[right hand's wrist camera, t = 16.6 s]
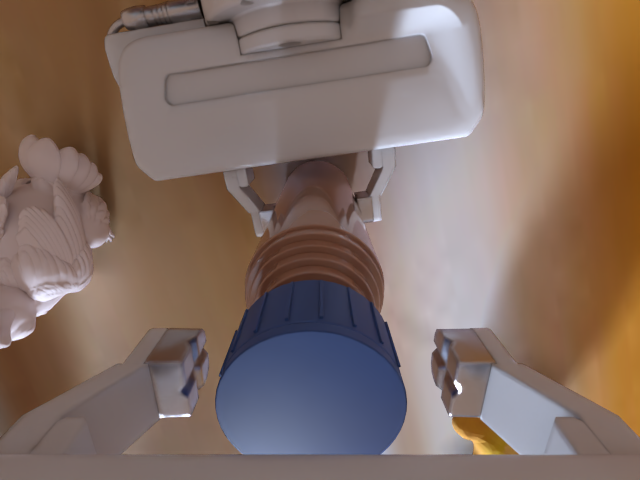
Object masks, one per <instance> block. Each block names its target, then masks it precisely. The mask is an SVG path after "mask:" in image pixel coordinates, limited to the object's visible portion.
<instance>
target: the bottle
mask: <svg viewBox="0 0 640 480" xmlns="http://www.w3.org/2000/svg"><path fill="white" fill-rule="evenodd" d="M303 280H323V281H328V282H333V283H337V284H340V285H343V286H346V287H350V288H351V289H353V290H354V291H356V292H358V293H359V294H361V295H362V296H364V297H365V298H366V299H367V300H368V301H370V302H371V301H372V302H373V304H374V307H375V308H376V309H377V310H378V312H379V313H380V312H381V309H382V305H383V299H384V277H383V272H382V269H381V266H380V263H379V261H378V258H377V255H376V253H375V250H374V247H373V245H372V242H371V240H370V237H369V234H368V232H367V229H366V226H365V224H364V221H363V218H362V216H361V213H360V211H359V208H358V205H357V203H356V200H355V197H354V195H353V192H352V189H351V187H350V184H349V182H348V179H347V177H346V176H345V174H344V173H343V172H342V171H341V170H340V169H339V168H338V167H337V166H335V165H333V164H331V163H329V162H326V161H318V160H316V161H309V162H306V163H303V164H302V165H300V166H298V167H297V168H296V169H295V170H294V171H293V172H292V173H291V174H290V176H289V177H288V179H287V181H286V184H285V186H284V188H283V190H282V193H281V195H280V197H279V199H278V201H277V204H276V206H275V208H274V210H273V213H272V215H271V217H270V219H269V221H268V224H267V226H266V228H265V230H264V233H263V235H262V237H261V239H260V242H259V244H258V246H257V248H256V250H255V253H254V255H253V257H252V259H251V262H250V264H249V266H248V269H247V273H246V279H245V300H246V305H247V309H249V308H250V307H251V306H252V305H253V304H254V303H255V302H256V301H257V300H258V299H259V298H260V297H262V296H263V295H264V293H265V292H269V291H271V290H273V289H275V288H277V287H279V286H282V285H285V284H288V283H290V282H297V281H303Z"/></svg>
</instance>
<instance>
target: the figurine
mask: <svg viewBox="0 0 640 480" xmlns="http://www.w3.org/2000/svg"><path fill="white" fill-rule="evenodd" d="M18 156H19V161H20V163H21V166H22V167H23V169H24V170H25V171H26V173H27V174H28V175H29V176H30V177H31V178H20V179H18V180H17V176H18V166H14V167H13V168H11V169H10V170H9V171H8V172H7V173H5V174H4V175H3V177H2V178H1V179H0V349H1V348H6V347H8V346H10V344H11V341H15V340H19V339H22V338H24V337H26V336H28V335H29V334H31V333H32V332H33V331H34V329H35V326H36V317H38V316H40V315H43V314H46V313H47V311H48V310H50V309H51V308H53V306H54V305H55V304H56V303H57V302H58V301H59V300H60V299H61V298H62V297H63V296H64V295H65V294H67V293H71V292H73V293H74V292H78V291H80V290H82V289H83V288H84V287H85V286H86V285H87V284H88V283H89V282H90V281H91V277H92V275H93V270H94V267H93V257H92V248H96V247H99V246H101V245H102V244H103V243H104V242H106V243H107V241H108V239H109V240H110V242H112V241H111V240H112V237H113V238H114V237H115V235H114V234H113V233H112V231H111V229H110V227H109V222H110V220H109V216H110V214H109V211H108V210H107V205H106V203H105V202H104V201H103V199H102V198H101V197H99V196H97V195H94V194H92V193H91V192H90V191H89V190H91V189H93V188H95V187H96V186H98V185H99V184H100V183H101V181H102V178H103V177H102V174H101V173H99V172H98V169H97V166H96V164H95V163H93V162H90V161H89V159H88V157H87V156H86V155H85V154H82V153H78V152H77V150H76V149H75V148H74V147H65V148H62V149H60V150H59V149H58V147H57V145H56V144H55V142H54V141H53V140H52V139H51V138H47V137H46V138H42V139H38V138H37V137H36V136H35V135H32V134H31V135H28V136H26V137H25V138H23V140H22V141H21V143H20V146H19V153H18ZM110 235H111V236H112V237H111V236H110Z"/></svg>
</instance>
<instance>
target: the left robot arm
mask: <svg viewBox="0 0 640 480" xmlns="http://www.w3.org/2000/svg"><path fill="white" fill-rule="evenodd" d="M159 25H160V26H159ZM161 25H162V26H161ZM123 27H126V29H127V30H130V31H126V32H120V33H118V32H119V30H120V29H122V28H123ZM105 51H106V54H107V57H108V60H109V64H110V67H111V70H112V73H113V76H114V78H115V80H116V82H117V83H118V85H119V86H120V93H121V100H122V106H123V112H124V118H125V123H126V128H127V132H128V137H129V141H130V145H131V149H132V153H133V156H134V159H135V162H136V164H137V166H138V167H139V168H140V169H141V170H142V171H143V172H144V173H145V174H147V175H148V176H149V177H150V178H152V179H153V180H155V181H161V180H168V179H175V178H182V177H189V176H196V175H203V174H210V173H217V172H223V174H224V178H225V183H226V187H227V190H228V191H229V192H230V193H231V194H232V195H233V197H234V198H235V199H236V200H237V201H238V202H239V203H240V204H241V205H242V206H243V207H244V208H245V210H246V211H247V212H248V213H251V216H252V220H253V225H254V229H255V234H256V236H257V237H262V235H263V233H264V230H265V228H266V226H267V224H268V221H269V219H270V217H271V215H272V213H273V210H274V208H275V206H276V204H277V203H274V204H265V205H264V202H263V201H262V200H261V199H260V198H259V196H258V195H257V194H256V193H255V191H254V190H253V189H252V188H251V187H250V185H249V184H250V183H251V182H252V181H253V180H254V173H253V167H259V166H266V165H273V164H280V163H286V162H293V161H300V160H307V159H314V158H321V157H328V156H335V155H342V154H349V153H356V152H363V151H368V160H369V163H370V164H371V165H372V166H373V167H374V168H375V170H374V173H373V175H372V177H371V180H370V182H369V184H368V186H367V189H366V191H360V192H354V195H355V200H356V203H357V205H358V208H359V211H360V213H361V216H362V218H363V221H364V223H367V222H373V221H374V222H375V221H381V217H382V216H381V204H380V195H382V194H383V192H384V190H385V188H386V186H387V184H388V182H389V179H390V177H391V175H392V173H393V171H394V169H395V167H396V156H395V147H398V146H405V145H412V144H419V143H426V142H433V141H440V140H447V139H454V138H460V137H466V136H468V135H470V134H471V132H472V131H473V130H474V128H475V127H476V125H477V124H478V122H479V121H480V119H481V118H482V116H483V112H484V98H485V84H484V60H483V48H482V38H481V30H480V23H479V18H478V14H477V11H476V8H475V6H474V4H473V2H472V0H170V1H167V2H164V3H160V4H158V5H152V6H147V7H146V6H145V5H138V6H132V7H129V8H126V9H124V10H122V11H121V18H119V19H118V20H116V21H115V22H114V23H113V24H112V25H111V27H110V28H109V30H108V33H107V36H106V37H105Z"/></svg>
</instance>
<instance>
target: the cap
mask: <svg viewBox="0 0 640 480" xmlns="http://www.w3.org/2000/svg"><path fill="white" fill-rule="evenodd" d="M399 367H401V366H400V363H399V359H398V356H397V353H396V350H395V346H394V343H393V340H392V337H391V334H390V330H389V327H388V324H387V322H384V320H383V318H382V316H381V315H380V313H379V312H378V310H377V309H376V308H375V307H374V304H373V302H372V301H371V302H370V301H368V300H367V299H366V298H365V297H364V296H362V295H361V294H359V293H358V292H356V291H354V290H353V289H351V288H350V287H346V286H343V285H340V284H337V283H333V282H328V281H323V280H303V281H297V282H290V283H288V284H285V285H282V286H279V287H277V288H275V289H273V290H271V291H269V292H265V293H264V295H263V296H262V297H260V298H259V299H258V300H257V301H256V302H255V303H254V304H253V305H252V306H251V307H250V308H249V309H246V310H245V313H244V316H243V318H242V321H241V323H240V326H239V329H238V331H237V330H236V331H235V334H234V336H233V339H232V342H231V344H230V347H229V350H228V352H227V355H226V358H225V360H224V363H223V366H222V368H221V371H220V374H219V377H221V378H220V380H219V384H218V387H217V390H216V397H215V406H216V413H217V418H218V421H219V424H220V426H221V428H222V430H223V432H224V434H225V436H226V437H227V438H228V440H229V441H230V442H231V443H232V445H233V446H234V447H235V448H236V449H237V450H238V451H240V452H241V453H242V454H243V455H247V454H297V455H380V454H381V453H383V452H384V451H385V450H386V449H387V448H388V447H389V446H390V445H391V444H392V442H393V441H394V440H395V439H396V437H397V435H398V434H399V432H400V430H401V428H402V425H403V423H404V420H405V415H406V411H407V397H406V391H405V387H404V383H403V380H402V377H401V373H400V370H399Z"/></svg>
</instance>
